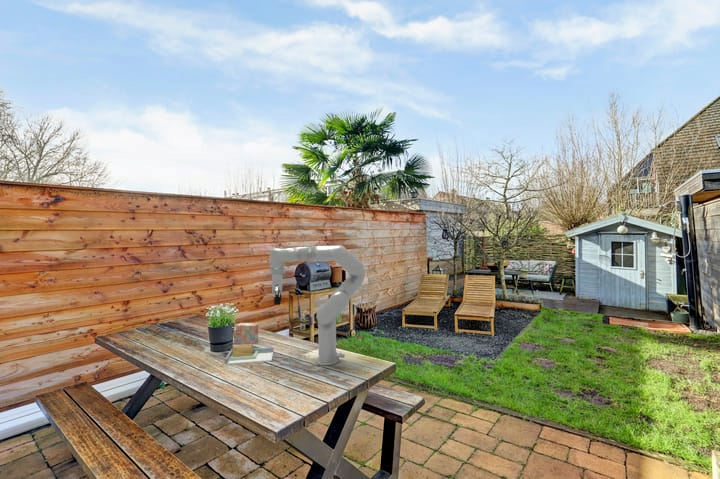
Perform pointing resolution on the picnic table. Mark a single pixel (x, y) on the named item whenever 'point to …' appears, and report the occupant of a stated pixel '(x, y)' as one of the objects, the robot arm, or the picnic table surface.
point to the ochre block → (243, 350)
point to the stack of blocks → (246, 333)
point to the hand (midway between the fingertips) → (277, 302)
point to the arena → (257, 356)
